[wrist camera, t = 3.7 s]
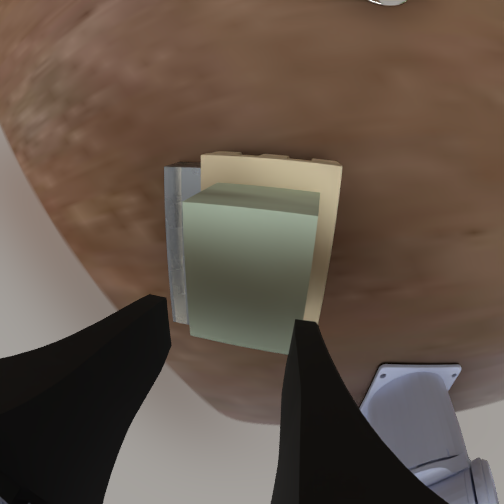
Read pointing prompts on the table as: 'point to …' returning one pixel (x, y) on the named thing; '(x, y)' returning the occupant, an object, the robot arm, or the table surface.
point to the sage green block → (258, 246)
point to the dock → (178, 229)
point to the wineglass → (388, 2)
